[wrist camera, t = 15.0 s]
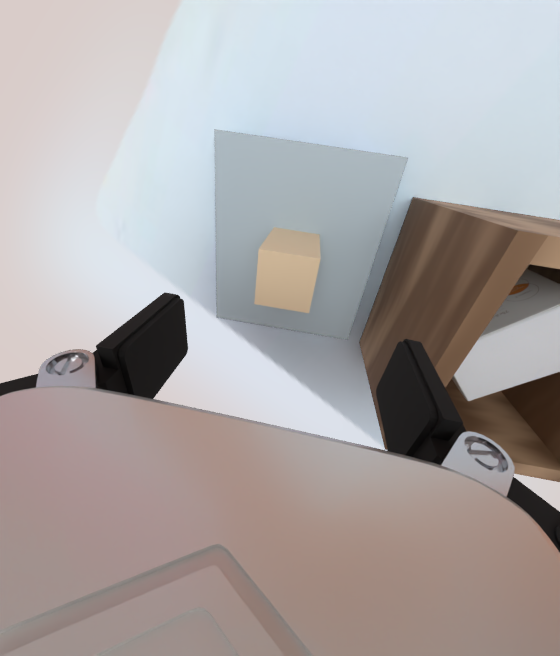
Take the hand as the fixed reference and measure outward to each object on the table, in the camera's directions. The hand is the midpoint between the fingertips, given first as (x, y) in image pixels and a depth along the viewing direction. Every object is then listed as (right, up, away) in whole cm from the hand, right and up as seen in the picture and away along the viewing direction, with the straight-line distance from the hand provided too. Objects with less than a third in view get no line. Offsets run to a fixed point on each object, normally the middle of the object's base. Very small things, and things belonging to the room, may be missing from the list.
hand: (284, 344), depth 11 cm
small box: (+17, +4, +15) cm, 23 cm away
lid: (+1, +9, +14) cm, 16 cm away
